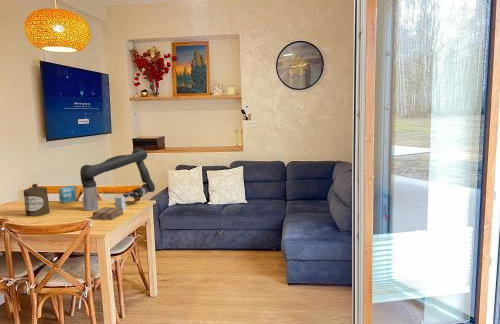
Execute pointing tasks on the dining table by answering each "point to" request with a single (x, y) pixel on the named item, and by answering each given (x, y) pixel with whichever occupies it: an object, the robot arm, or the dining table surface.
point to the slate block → (120, 202)
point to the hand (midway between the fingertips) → (128, 197)
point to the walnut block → (107, 213)
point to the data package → (67, 194)
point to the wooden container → (36, 201)
